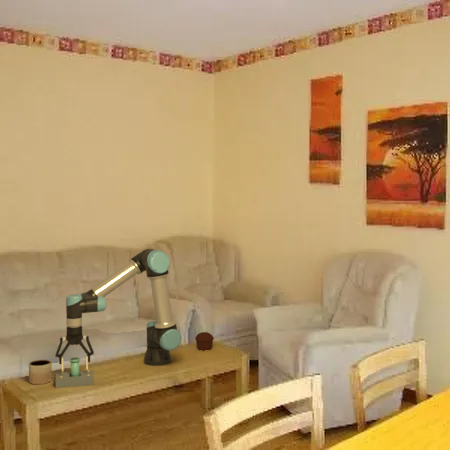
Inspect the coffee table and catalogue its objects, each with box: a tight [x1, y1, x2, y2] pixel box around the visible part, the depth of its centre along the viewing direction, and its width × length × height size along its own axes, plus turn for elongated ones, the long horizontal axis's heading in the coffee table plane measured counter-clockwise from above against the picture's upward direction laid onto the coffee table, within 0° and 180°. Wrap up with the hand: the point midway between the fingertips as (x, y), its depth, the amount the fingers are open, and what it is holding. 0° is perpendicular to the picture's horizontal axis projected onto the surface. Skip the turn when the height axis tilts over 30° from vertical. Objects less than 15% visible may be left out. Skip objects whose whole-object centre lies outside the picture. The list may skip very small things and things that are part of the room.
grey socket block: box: [55, 369, 95, 389], centre depth 286 cm, size 18×12×5 cm, turn 103°
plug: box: [69, 357, 81, 377], centre depth 286 cm, size 5×5×12 cm
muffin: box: [194, 331, 215, 352], centre depth 350 cm, size 12×11×10 cm
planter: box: [28, 359, 53, 385], centre depth 288 cm, size 11×11×10 cm
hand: (75, 369), depth 286 cm, fingers open, 11 cm apart
